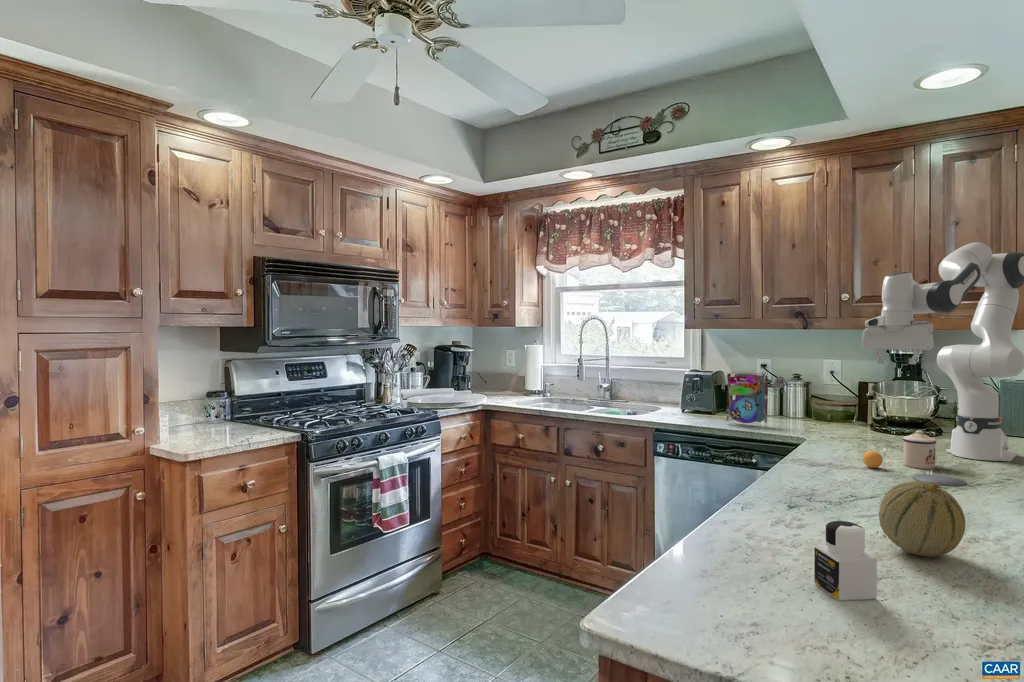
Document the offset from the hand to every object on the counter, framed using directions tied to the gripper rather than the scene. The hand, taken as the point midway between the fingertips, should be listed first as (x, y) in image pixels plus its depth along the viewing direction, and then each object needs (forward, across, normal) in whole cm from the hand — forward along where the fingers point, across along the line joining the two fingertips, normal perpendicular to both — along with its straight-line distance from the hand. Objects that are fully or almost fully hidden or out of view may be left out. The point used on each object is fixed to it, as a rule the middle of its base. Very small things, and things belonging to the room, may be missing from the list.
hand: (896, 364), depth 195 cm
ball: (+31, +5, +3) cm, 32 cm away
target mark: (+35, -14, +3) cm, 38 cm away
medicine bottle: (+46, -36, +100) cm, 116 cm away
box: (+28, +73, -35) cm, 85 cm away
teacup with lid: (+33, -2, -13) cm, 35 cm away
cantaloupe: (+43, -36, +71) cm, 90 cm away
